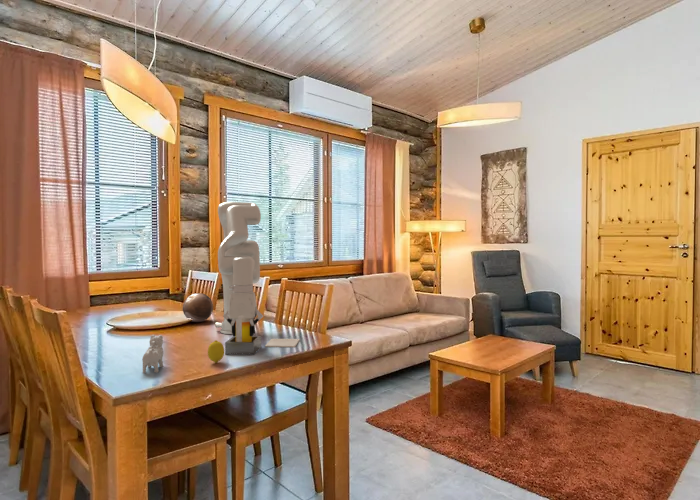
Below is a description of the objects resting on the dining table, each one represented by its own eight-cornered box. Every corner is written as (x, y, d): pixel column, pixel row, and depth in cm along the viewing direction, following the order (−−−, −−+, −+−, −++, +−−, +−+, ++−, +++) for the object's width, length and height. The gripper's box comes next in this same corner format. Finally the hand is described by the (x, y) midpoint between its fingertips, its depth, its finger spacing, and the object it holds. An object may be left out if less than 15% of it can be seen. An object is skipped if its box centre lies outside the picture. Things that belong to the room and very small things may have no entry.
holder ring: (225, 354, 168) (225, 342, 168) (234, 347, 179) (233, 335, 179) (254, 354, 168) (254, 342, 167) (261, 347, 179) (261, 336, 178)
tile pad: (265, 347, 179) (265, 345, 179) (271, 340, 191) (271, 338, 191) (294, 347, 178) (294, 345, 178) (299, 340, 190) (299, 338, 190)
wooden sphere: (176, 323, 227) (176, 294, 226) (195, 318, 241) (194, 291, 241) (202, 325, 223) (201, 295, 222) (219, 320, 237) (218, 291, 236)
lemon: (209, 361, 159) (209, 338, 159) (225, 360, 159) (225, 338, 159) (206, 365, 154) (205, 342, 153) (222, 365, 154) (222, 342, 154)
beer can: (254, 349, 175) (254, 311, 175) (246, 353, 169) (245, 314, 169) (241, 348, 177) (241, 310, 177) (232, 351, 171) (232, 313, 171)
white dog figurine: (166, 362, 157) (166, 332, 157) (158, 373, 145) (157, 341, 145) (150, 363, 156) (149, 333, 156) (140, 374, 144) (140, 341, 144)
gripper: (217, 290, 169) (218, 337, 170) (262, 290, 168) (263, 337, 169) (224, 288, 177) (224, 333, 177) (267, 288, 176) (267, 333, 176)
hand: (243, 335), depth 173 cm, fingers closed on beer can, 5 cm apart
